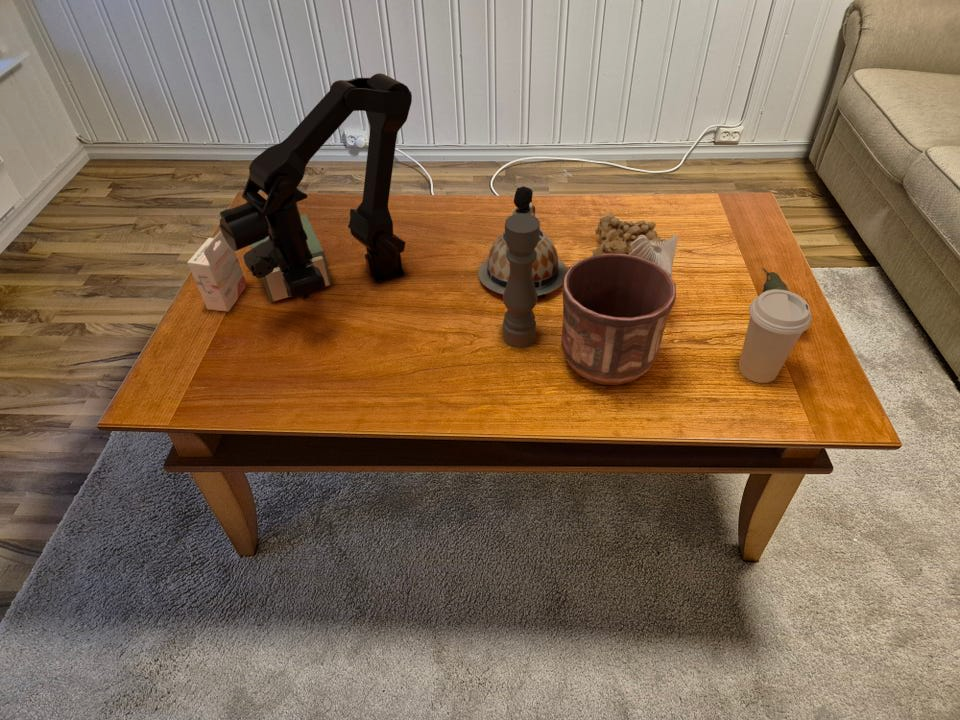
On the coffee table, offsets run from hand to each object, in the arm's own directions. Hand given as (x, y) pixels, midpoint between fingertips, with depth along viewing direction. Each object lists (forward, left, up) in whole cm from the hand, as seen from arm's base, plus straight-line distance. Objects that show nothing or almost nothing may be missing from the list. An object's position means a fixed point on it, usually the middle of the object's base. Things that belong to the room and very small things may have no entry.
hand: (305, 297), depth 127 cm
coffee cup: (-68, +50, -4) cm, 84 cm away
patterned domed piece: (-43, +8, -4) cm, 44 cm away
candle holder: (-34, +24, -4) cm, 42 cm away
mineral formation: (-66, +12, -4) cm, 67 cm away
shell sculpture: (-59, +28, -4) cm, 65 cm away
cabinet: (0, -14, -4) cm, 15 cm away
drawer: (0, -10, -3) cm, 10 cm away
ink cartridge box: (+14, -12, -4) cm, 19 cm away
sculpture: (-83, +38, -4) cm, 91 cm away
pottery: (-45, +37, -4) cm, 58 cm away
